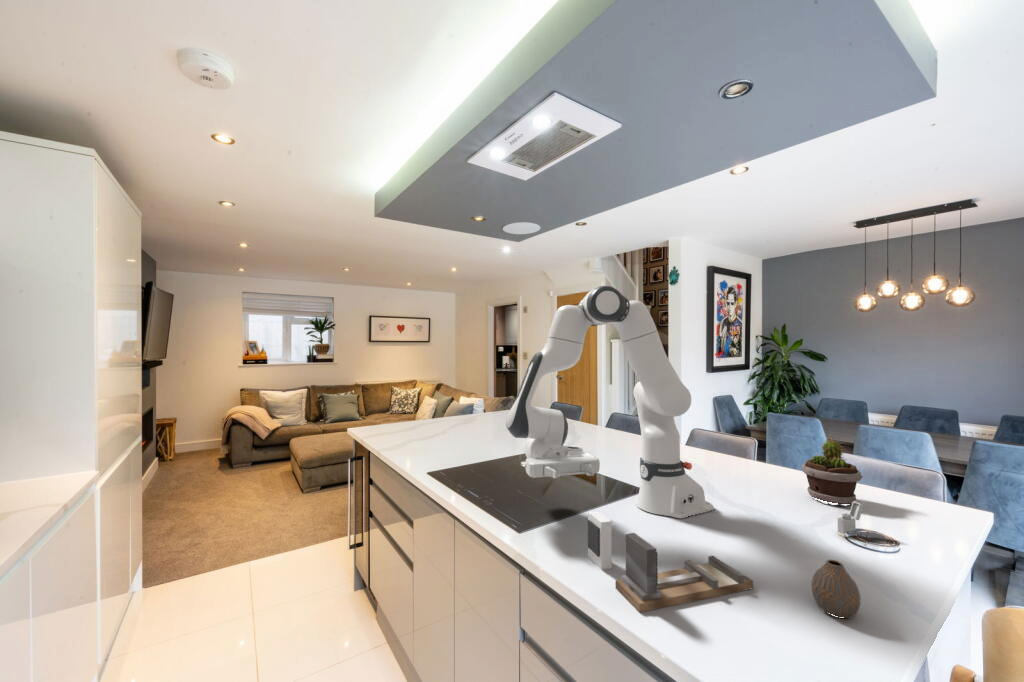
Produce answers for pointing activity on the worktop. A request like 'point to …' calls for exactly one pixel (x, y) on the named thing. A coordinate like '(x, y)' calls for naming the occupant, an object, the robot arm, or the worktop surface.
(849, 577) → the vase
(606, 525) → the white upright block
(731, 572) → the rail
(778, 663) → the worktop surface
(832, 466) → the flowerpot
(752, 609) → the worktop surface
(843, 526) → the lighter
